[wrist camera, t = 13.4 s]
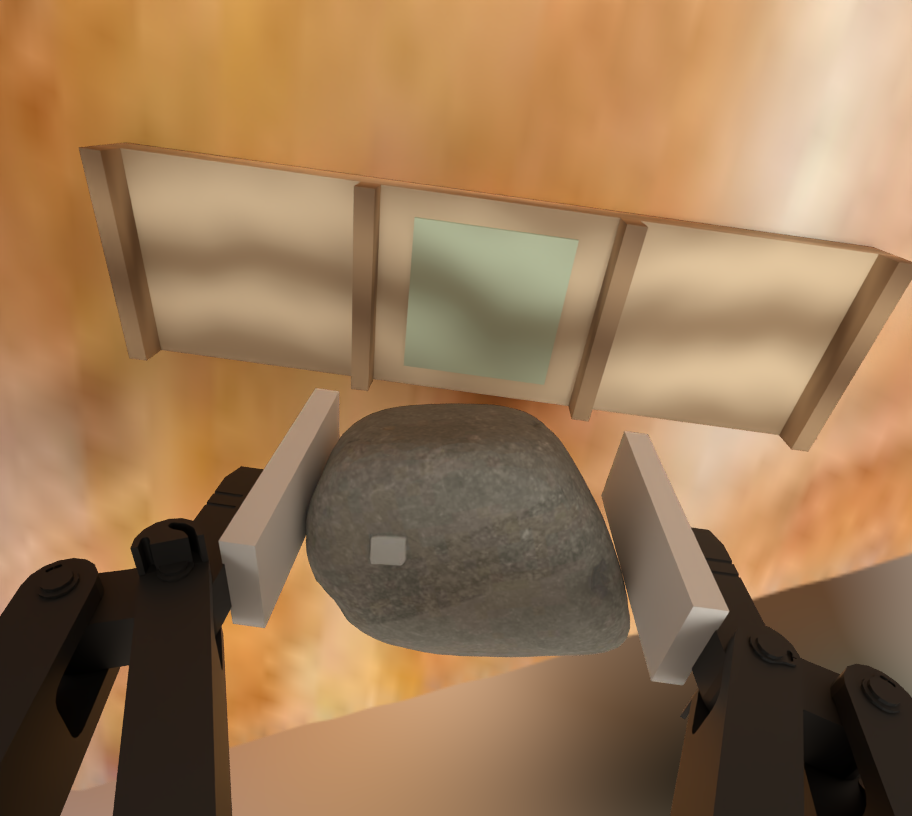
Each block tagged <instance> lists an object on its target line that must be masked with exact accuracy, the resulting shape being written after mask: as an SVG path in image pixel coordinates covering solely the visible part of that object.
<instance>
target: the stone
mask: <svg viewBox="0 0 912 816" xmlns="http://www.w3.org/2000/svg"><path fill="white" fill-rule="evenodd" d="M306 550H307V556H308V560H309V564H310V567H311V569H312V572H313V574H314V576H315V579H316V581H317V582H318V583H319V584H320V585H321V586H322V587H323V589H324V590H325V591H326V592H327V593H328V594H329V595H330V596H331V597H332V598H333V599H334V600H335V602H336V603H337V605H338V606H339V608H340V609H341V611H342V612H343V614H344V616H345V617H346V619H347V620H348V621H349V622H350V623H351V624H352V625H354V626H355V627H356V628H358V629H359V630H360V631H362V632H364V633H365V634H367V635H369V636H371V637H373V638H375V639H377V640H379V641H382V642H385V643H387V644H391V645H395V646H399V647H403V648H408V649H412V650H417V651H422V652H427V653H434V654H442V655H456V656H488V657H533V656H564V655H589V654H597V653H603V652H607V651H610V650H613V649H615V648H617V647H619V646H620V645H621V644H622V643H623V642H624V641H625V640H626V638H627V636H628V632H629V629H630V615H629V610H628V600H627V594H626V590H625V584H624V580H623V576H622V571H621V568H620V565H619V561H618V558H617V555H616V552H615V549H614V546H613V543H612V540H611V537H610V534H609V532H608V529H607V527H606V524H605V521H604V519H603V516H602V514H601V512H600V510H599V508H598V506H597V504H596V502H595V500H594V498H593V496H592V494H591V492H590V490H589V488H588V486H587V485H586V483H585V481H584V479H583V477H582V475H581V473H580V472H579V470H578V468H577V466H576V465H575V463H574V461H573V459H572V458H571V456H570V454H569V453H568V451H567V450H566V448H565V447H564V445H563V444H562V442H561V441H560V440H559V439H558V437H557V436H556V435H555V434H554V433H553V432H552V431H551V430H550V429H548V428H547V427H546V426H545V425H544V424H543V423H542V422H541V421H539V420H538V419H537V418H535V417H533V416H532V415H530V414H528V413H526V412H523V411H520V410H517V409H513V408H509V407H504V406H498V405H488V404H424V405H410V406H401V407H395V408H390V409H385V410H382V411H378V412H375V413H372V414H370V415H368V416H366V417H364V418H362V419H361V420H359V421H358V422H356V423H355V424H353V425H352V426H351V427H350V428H349V429H348V430H347V431H346V432H345V433H344V434H343V435H342V436H341V438H340V439H339V440H338V442H337V443H336V445H335V446H334V448H333V450H332V451H331V453H330V455H329V458H328V460H327V462H326V464H325V467H324V470H323V473H322V476H321V478H320V480H319V482H318V484H317V486H316V488H315V490H314V492H313V495H312V498H311V501H310V504H309V507H308V511H307V516H306Z"/></svg>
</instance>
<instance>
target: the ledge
mask: <svg viewBox="0 0 912 816" xmlns="http://www.w3.org/2000/svg"><path fill="white" fill-rule="evenodd" d="M79 151H80V155H81V159H82V163H83V167H84V172H85V176H86V180H87V184H88V188H89V192H90V196H91V201H92V205H93V209H94V213H95V217H96V221H97V225H98V230H99V234H100V238H101V242H102V246H103V250H104V254H105V259H106V263H107V267H108V271H109V275H110V279H111V283H112V288H113V292H114V296H115V300H116V304H117V308H118V312H119V317H120V321H121V325H122V329H123V333H124V337H125V341H126V346H127V350H128V354H129V358H132V359H139V360H146V361H147V360H148V359H149V358H151V357H152V356H153V355H155V354H156V353H158V352H159V351H160V350H166V351H174V352H181V353H188V354H195V355H203V356H210V357H217V358H224V359H232V360H239V361H246V362H253V363H261V364H268V365H275V366H282V367H290V368H297V369H304V370H311V371H319V372H326V373H333V374H340V375H348V376H351V389H357V390H364V391H368V390H369V388H370V386H371V383H372V381H373V379H377V380H384V381H391V382H398V383H406V384H413V385H420V386H427V387H435V388H442V389H449V390H456V391H464V392H471V393H478V394H485V395H493V396H500V397H507V398H514V399H522V400H529V401H536V402H543V403H551V404H558V405H565V406H569V410H570V414H571V418H572V419H575V420H582V421H589V419H590V415H591V412H592V409H594V410H601V411H609V412H616V413H623V414H630V415H638V416H645V417H652V418H659V419H667V420H674V421H681V422H688V423H696V424H703V425H710V426H717V427H725V428H732V429H739V430H746V431H754V432H761V433H768V434H775V435H780V437H781V438H782V439H783V440H784V441H785V442H786V444H787V445H788V446H789V447H790V448H791V449H792V450H800V451H807V452H808V451H809V450H810V448H811V446H812V445H813V443H814V441H815V440H816V438H817V436H818V435H819V433H820V431H821V430H822V428H823V426H824V425H825V423H826V421H827V420H828V418H829V416H830V415H831V413H832V411H833V410H834V408H835V406H836V405H837V403H838V401H839V400H840V398H841V396H842V395H843V393H844V391H845V390H846V388H847V386H848V385H849V383H850V381H851V380H852V378H853V376H854V375H855V373H856V371H857V370H858V368H859V366H860V365H861V363H862V361H863V360H864V358H865V356H866V355H867V353H868V351H869V350H870V348H871V346H872V345H873V343H874V341H875V340H876V338H877V336H878V335H879V333H880V331H881V330H882V328H883V326H884V325H885V323H886V321H887V320H888V318H889V316H890V315H891V313H892V312H893V310H894V308H895V307H896V305H897V303H898V302H899V300H900V298H901V297H902V295H903V293H904V292H905V290H906V288H907V287H908V285H909V283H910V282H911V280H912V262H911V261H908V260H905V259H903V258H900V257H898V256H895V255H892V254H890V253H887V252H884V251H882V250H879V249H876V248H874V247H868V246H861V245H854V244H847V243H840V242H832V241H825V240H818V239H811V238H804V237H797V236H789V235H782V234H775V233H768V232H761V231H754V230H747V229H739V228H732V227H725V226H718V225H711V224H704V223H697V222H689V221H682V220H675V219H668V218H661V217H654V216H647V215H639V214H632V213H625V212H618V211H611V210H604V209H596V208H589V207H582V206H575V205H568V204H561V203H554V202H546V201H539V200H532V199H525V198H518V197H511V196H504V195H496V194H489V193H482V192H475V191H468V190H461V189H454V188H446V187H439V186H432V185H425V184H418V183H411V182H404V181H396V180H389V179H382V178H375V177H368V176H361V175H353V174H346V173H339V172H332V171H325V170H318V169H311V168H303V167H296V166H289V165H282V164H275V163H268V162H261V161H253V160H246V159H239V158H232V157H225V156H218V155H211V154H203V153H196V152H189V151H182V150H175V149H168V148H160V147H153V146H146V145H139V144H132V143H117V144H107V145H98V146H88V147H79Z"/></svg>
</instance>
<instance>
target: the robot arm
mask: <svg viewBox="0 0 912 816" xmlns="http://www.w3.org/2000/svg"><path fill="white" fill-rule="evenodd" d="M338 440H339V391H334V390H326V389H319V388H315V390H314V391H313V393H312V394H311V396H310V398H309V399H308V401H307V402H306V404H305V405H304V407H303V409H302V410H301V412H300V413H299V415H298V416H297V418H296V420H295V421H294V423H293V424H292V426H291V428H290V429H289V431H288V432H287V434H286V435H285V437H284V439H283V440H282V442H281V443H280V445H279V446H278V448H277V450H276V451H275V453H274V454H273V456H272V457H271V459H270V461H269V462H268V464H267V465H266V467H265V469H264V470H263V469H256V468H249V467H242V466H241V467H240V468H238V469H237V470H235V471H234V472H232V473H231V474H229V475H228V476H226V477H225V478H224V480H223V481H222V482H221V484H220V485H219V486H218V488H217V489H216V491H215V494H213V495H212V496H211V497H210V499H209V500H208V502H207V505H205V506H204V507H203V509H202V510H201V511H200V513H199V514H198V515H197V517H196V518H195V520H194V521H192V520H188V519H183V518H178V519H167V520H164V521H161V522H157V523H155V524H153V525H151V526H149V527H148V528H146V529H144V530H143V531H142V532H141V533H140V534H139V535H138V536H137V537H136V538H135V539H134V541H133V543H132V546H131V552H132V555H133V558H134V561H135V565H136V568H134V569H129V570H121V571H113V572H105V573H98V571H97V569H96V567H95V564H93V563H91V562H90V561H88V560H86V559H77V558H72V559H66V560H59V561H57V562H54V563H52V564H49V565H46V566H44V567H42V568H41V569H39V570H38V571H36V572H35V573H33V574H31V575H30V576H29V577H28V578H27V579H26V580H25V582H24V583H23V584H22V585H21V586H20V587H19V589H18V590H17V592H16V593H15V595H14V596H13V598H12V599H11V601H10V602H9V604H8V605H7V607H6V608H5V610H4V611H3V613H2V614H1V616H0V816H60V815H61V812H62V810H63V807H64V805H65V802H66V800H67V797H68V795H69V793H70V790H71V788H72V785H73V783H74V780H75V778H76V775H77V773H78V770H79V768H80V765H81V763H82V760H83V758H84V755H85V753H86V751H87V748H88V746H89V743H90V741H91V738H92V736H93V733H94V731H95V728H96V726H97V723H98V721H99V718H100V716H101V713H102V711H103V709H104V706H105V704H106V701H107V699H108V696H109V694H110V691H111V689H112V686H113V684H114V681H115V679H116V676H117V674H118V671H119V669H120V667H121V666H127V665H129V672H128V681H127V690H126V699H125V709H124V718H123V727H122V736H121V745H120V755H119V764H118V773H117V782H116V792H115V800H114V810H113V816H232V803H231V783H230V765H229V764H230V763H229V742H228V722H227V701H226V681H225V661H224V640H223V631H222V624H223V622H224V620H225V618H226V616H227V615H228V613H229V611H230V610H231V615H232V621H233V624H239V625H247V626H254V627H261V628H265V627H266V625H267V622H268V620H269V618H270V616H271V613H272V611H273V609H274V606H275V604H276V602H277V600H278V597H279V595H280V593H281V591H282V588H283V586H284V584H285V581H286V579H287V577H288V575H289V572H290V570H291V568H292V566H293V563H294V561H295V559H296V556H297V554H298V552H299V550H300V547H301V545H302V543H303V541H304V538H305V536H306V516H307V511H308V507H309V504H310V501H311V498H312V495H313V492H314V490H315V488H316V486H317V484H318V482H319V480H320V478H321V476H322V473H323V470H324V467H325V464H326V462H327V460H328V458H329V455H330V453H331V451H332V450H333V448H334V446H335V445H336V443H337V442H338ZM601 496H602V500H603V504H604V507H605V511H606V515H607V518H608V522H609V526H610V530H611V533H612V537H613V541H614V545H615V548H616V552H617V556H618V559H619V563H620V567H621V571H622V574H623V578H624V582H625V585H626V589H627V593H628V597H629V600H630V604H631V608H632V612H633V615H634V619H635V623H636V626H637V630H638V634H639V638H640V641H641V645H642V649H643V652H644V656H645V660H646V664H647V667H648V671H649V674H650V679H651V681H656V682H663V683H671V684H678V685H683V684H684V683H685V681H686V680H687V678H688V676H689V675H690V673H691V672H692V671H693V674H694V677H695V679H696V682H697V685H698V689H697V690H696V692H695V693H694V695H693V696H692V698H691V699H690V701H689V702H688V704H687V705H686V707H685V708H684V710H683V712H682V714H681V716H680V717H682V718H683V719H685V718H686V717H687V715H688V714H689V717H688V722H687V728H686V733H685V738H684V743H683V749H682V754H681V760H680V766H679V770H678V776H677V781H676V786H675V792H674V797H673V803H672V808H671V813H670V816H912V698H911V696H910V695H909V694H908V693H907V692H906V691H905V690H904V689H903V688H902V687H901V686H900V685H899V684H898V683H897V682H896V681H894V680H893V679H892V678H890V677H889V676H887V675H886V674H884V673H883V672H881V671H879V670H876V669H874V668H872V667H870V666H866V665H860V664H854V665H851V666H847V668H846V669H845V670H844V671H843V672H842V673H841V674H838V673H835V672H833V671H831V670H828V669H826V668H823V667H821V666H818V665H815V664H813V663H811V662H808V661H806V660H804V659H802V658H800V656H799V654H798V653H797V651H796V650H795V648H794V647H793V645H792V644H791V643H789V641H788V640H786V639H785V638H784V637H783V636H782V635H780V634H779V633H778V632H776V631H775V630H773V629H771V628H770V627H767V626H765V624H764V622H763V620H762V618H761V617H760V615H759V613H758V611H757V609H756V607H755V605H754V603H753V601H752V599H751V597H750V595H749V593H748V591H747V589H746V587H745V585H744V583H743V582H742V580H741V578H739V576H738V575H739V574H738V572H737V570H736V568H735V566H734V564H732V560H731V558H730V556H729V554H728V552H727V551H726V549H725V547H724V545H723V544H722V543H721V542H720V541H719V540H718V539H717V538H716V537H715V536H714V535H713V534H712V533H711V532H710V531H709V530H705V529H698V528H691V527H690V524H689V522H688V520H687V518H686V516H685V514H684V511H683V509H682V507H681V505H680V503H679V501H678V498H677V496H676V494H675V492H674V490H673V487H672V485H671V483H670V481H669V479H668V477H667V474H666V472H665V470H664V468H663V466H662V464H661V461H660V459H659V457H658V455H657V453H656V451H655V448H654V446H653V444H652V442H651V440H650V437H649V435H648V434H642V433H635V432H628V431H624V434H623V437H622V439H621V442H620V445H619V448H618V451H617V453H616V456H615V459H614V462H613V465H612V467H611V470H610V473H609V476H608V479H607V481H606V484H605V487H604V490H603V493H602V495H601Z"/></svg>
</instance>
